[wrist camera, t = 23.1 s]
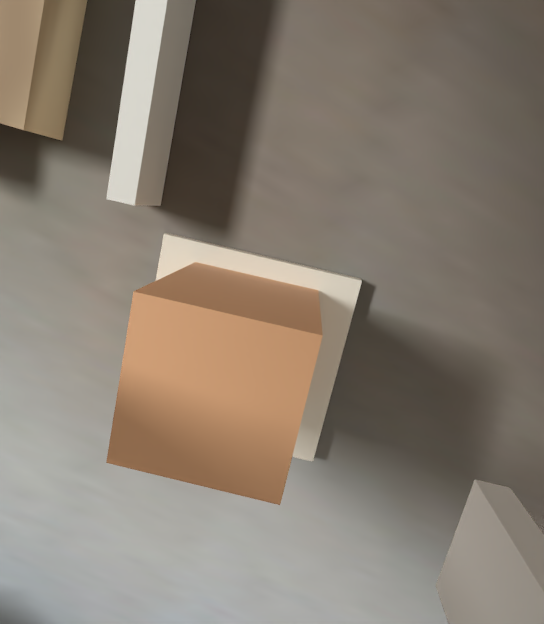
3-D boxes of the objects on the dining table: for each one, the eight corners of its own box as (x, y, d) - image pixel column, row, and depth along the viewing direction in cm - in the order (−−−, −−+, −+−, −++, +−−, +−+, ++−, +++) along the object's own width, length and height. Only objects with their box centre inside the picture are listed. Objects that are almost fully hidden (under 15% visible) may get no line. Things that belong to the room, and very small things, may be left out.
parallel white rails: (-54, 155, 20) (-116, 146, 17) (-28, -192, 17) (-97, -273, 14) (160, 205, 20) (134, 205, 17) (219, -138, 17) (201, -210, 14)
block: (173, 377, 21) (106, 462, 14) (195, 261, 19) (133, 291, 13) (290, 405, 20) (279, 504, 14) (318, 290, 19) (322, 335, 13)
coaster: (136, 411, 22) (131, 417, 21) (168, 233, 20) (164, 233, 19) (312, 454, 21) (312, 461, 21) (360, 278, 20) (362, 280, 19)
